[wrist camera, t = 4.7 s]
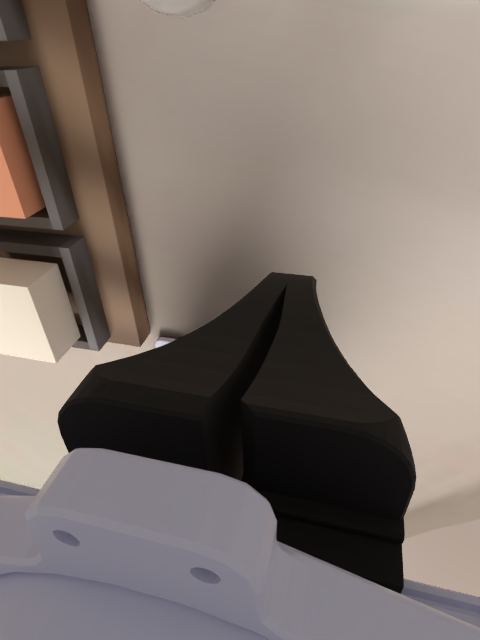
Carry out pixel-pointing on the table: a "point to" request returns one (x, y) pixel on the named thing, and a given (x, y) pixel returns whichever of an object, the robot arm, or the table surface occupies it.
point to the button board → (71, 169)
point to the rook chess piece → (179, 6)
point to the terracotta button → (16, 167)
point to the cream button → (34, 311)
